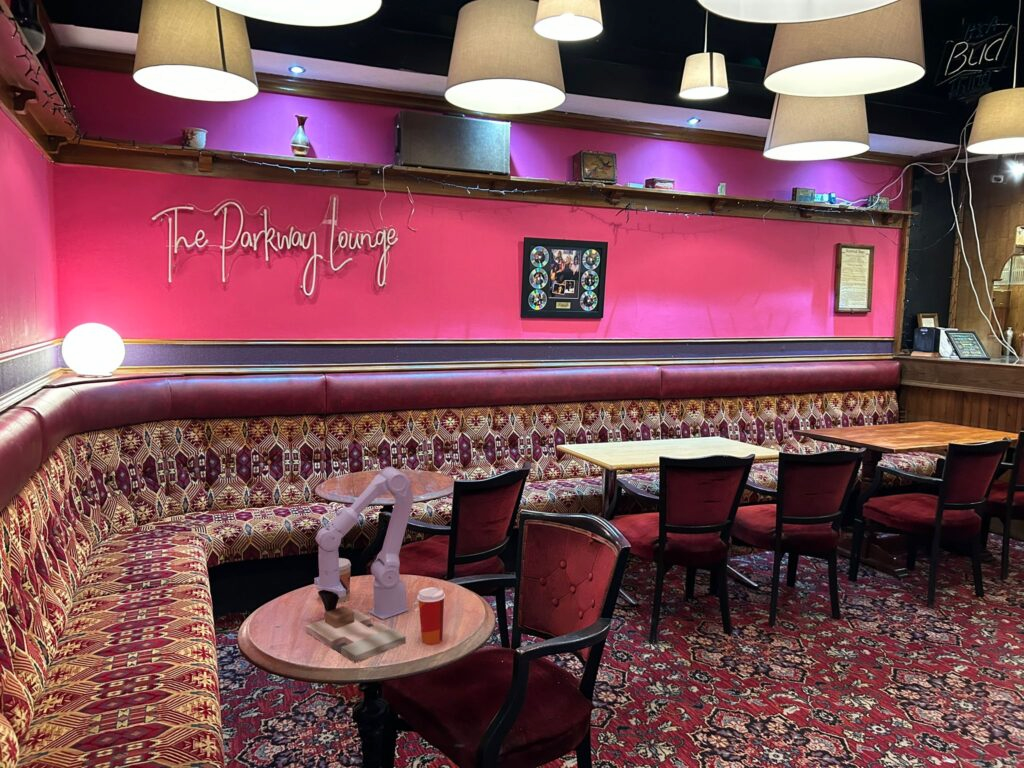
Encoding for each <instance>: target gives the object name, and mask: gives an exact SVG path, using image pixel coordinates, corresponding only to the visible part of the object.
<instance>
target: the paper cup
mask: <svg viewBox="0 0 1024 768" xmlns="http://www.w3.org/2000/svg"><path fill="white" fill-rule="evenodd" d="M445 597H446V594H445V592H444V590H443V589H441V588H439V587H438V588H437V587H432V586H431V587H425V588H422V589H421V590H419V591H418V595H417V601H418V608H419V610H418V611H419V622H420V632H421V633H420V635H421V642H422V644H423V645H427V646H435V645H439V644H440V643H442V642H443V635H444V634H443V631H444V630H443V629H444V610H445V609H444V607H445Z"/></svg>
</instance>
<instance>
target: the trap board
mask: <svg viewBox="0 0 1024 768" xmlns="http://www.w3.org/2000/svg"><path fill="white" fill-rule="evenodd" d="M350 610H351V611H353V612H354V622H353V623H351V624H348V625H345V626H342V627H339V628H334V627H332V626H331V625H329V624H327V623H325V618H324V619H321V620H319V621H316V622H312V623H309V624H306V625H305V631H306V632H307V633H306V632H305V633H306V634H308V633H309V634H308V635H310V634H311V635H312V636H311V635H310V636H311V637H313V638H314V637H315V638H314V639H316V638H317V639H316V640H318V641H319V640H320V642H321V643H323V644H324V645H326V646H327V645H328V646H327V647H329V648H331V649H333V650H334V651H335V650H336V652H338V653H339V654H340V655H342V656H343V657H345V658H347V659H348V658H349V660H350V659H351V660H350V661H352V662H353V661H354V663H355V664H357V663H359V662H358V661H360V662H361V660H362V661H364V659H365V660H367V659H369V657H370V658H372V657H374V655H375V656H377V655H379V653H380V654H382V653H385V652H387V651H389V649H390V650H393V649H395V648H396V647H400V646H402V645H406V642H407V641H406V640H407V637H406V635H404V634H402V633H400V632H398V631H397V630H395V629H393V628H391V627H389V626H387V625H385V624H383V623H381V622H380V623H377V624H373V623H372V618H371V617H370V616H369V615H366V614H364V613H362V612H360V611H359V610H357V609H354V608H353V609H350ZM399 645H400V646H399ZM384 651H385V652H384ZM371 656H372V657H371ZM366 658H367V659H366ZM356 662H357V663H356Z"/></svg>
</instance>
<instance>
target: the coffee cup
mask: <svg viewBox="0 0 1024 768" xmlns="http://www.w3.org/2000/svg"><path fill="white" fill-rule="evenodd" d="M351 566H352V564H351V561H350V560H349V559H347V558H344V557H343V558H342V557H339V578H340V583H341V584H342V586H343V588H344V589H346V596H344V597H339V600H338V602H337V603H339V604H342V603H341V602H343V603H345V602H344V601H346V602H348V599H349V600H350V592H351V591H350V590H351Z"/></svg>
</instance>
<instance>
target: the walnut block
mask: <svg viewBox="0 0 1024 768" xmlns="http://www.w3.org/2000/svg"><path fill="white" fill-rule="evenodd" d="M351 610H352V609H349V608H347V607H345V606H344V605H343V606H339V607H336V609H333V610H330V611H327V612H326V611H325V612H324V619H325V623H327V624H329V625H331V626H332V627H334V628H339V627H342V626H345V625H348V624H351V623H353V622H354V612H353V611H351Z"/></svg>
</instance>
